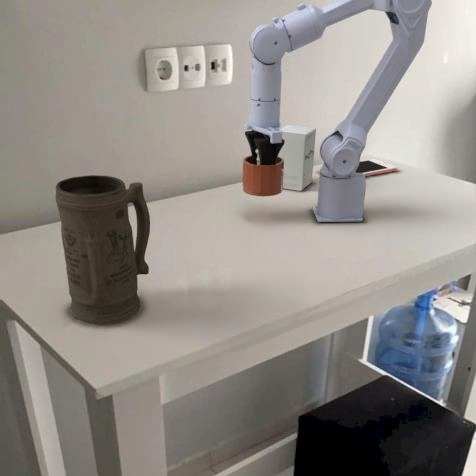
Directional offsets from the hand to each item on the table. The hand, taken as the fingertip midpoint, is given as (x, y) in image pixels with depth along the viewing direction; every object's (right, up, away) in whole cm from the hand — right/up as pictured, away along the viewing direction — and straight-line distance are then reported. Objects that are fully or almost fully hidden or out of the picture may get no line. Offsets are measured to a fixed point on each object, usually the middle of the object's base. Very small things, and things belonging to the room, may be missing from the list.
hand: (263, 171), depth 128 cm
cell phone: (+25, +12, +32) cm, 43 cm away
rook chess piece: (0, -3, +2) cm, 3 cm away
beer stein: (-25, -31, -26) cm, 47 cm away
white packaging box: (+8, +5, +24) cm, 25 cm away
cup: (0, -3, +2) cm, 4 cm away
